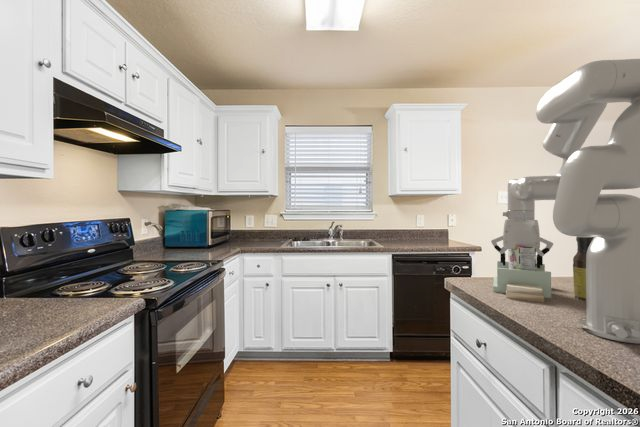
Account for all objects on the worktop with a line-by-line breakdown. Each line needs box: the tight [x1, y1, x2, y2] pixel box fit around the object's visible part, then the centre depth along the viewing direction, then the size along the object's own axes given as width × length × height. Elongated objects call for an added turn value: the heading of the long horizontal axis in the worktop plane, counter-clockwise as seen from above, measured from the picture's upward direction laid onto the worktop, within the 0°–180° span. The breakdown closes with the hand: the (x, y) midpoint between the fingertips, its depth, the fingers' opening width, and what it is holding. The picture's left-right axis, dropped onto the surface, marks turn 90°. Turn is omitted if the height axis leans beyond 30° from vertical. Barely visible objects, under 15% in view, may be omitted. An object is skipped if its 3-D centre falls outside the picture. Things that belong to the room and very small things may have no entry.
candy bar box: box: [507, 245, 537, 271], centre depth 100 cm, size 11×5×16 cm, turn 164°
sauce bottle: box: [572, 236, 595, 302], centre depth 88 cm, size 6×6×20 cm
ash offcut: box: [507, 283, 542, 296], centre depth 90 cm, size 4×9×2 cm, turn 53°
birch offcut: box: [505, 288, 545, 303], centre depth 90 cm, size 5×9×2 cm, turn 58°
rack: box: [492, 260, 552, 299], centre depth 100 cm, size 16×15×9 cm
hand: (520, 266), depth 100 cm, fingers open, 9 cm apart
